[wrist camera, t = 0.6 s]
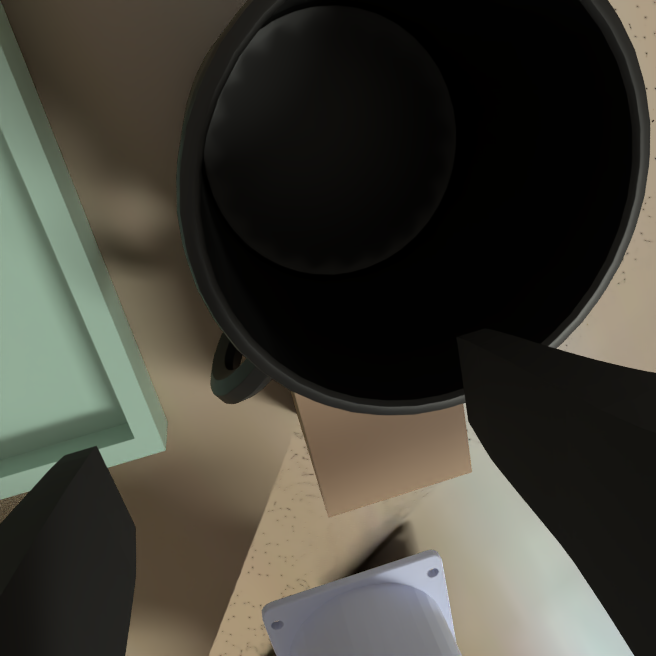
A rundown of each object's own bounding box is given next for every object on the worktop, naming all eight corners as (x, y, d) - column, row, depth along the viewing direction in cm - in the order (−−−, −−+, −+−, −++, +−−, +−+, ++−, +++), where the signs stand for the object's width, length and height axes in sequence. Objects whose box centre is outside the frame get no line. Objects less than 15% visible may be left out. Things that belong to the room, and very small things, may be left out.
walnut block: (408, 380, 24) (471, 472, 18) (297, 413, 23) (329, 517, 18) (389, 274, 22) (455, 341, 16) (267, 308, 21) (293, 388, 16)
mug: (84, 254, 19) (4, 390, 11) (296, -95, 17) (397, -255, 8) (317, 383, 23) (386, 557, 15) (519, 114, 20) (740, 142, 12)
